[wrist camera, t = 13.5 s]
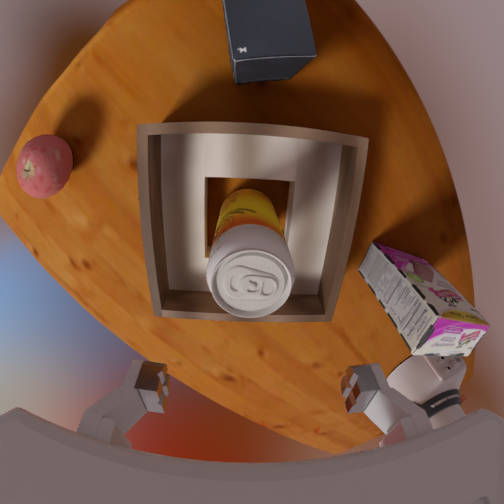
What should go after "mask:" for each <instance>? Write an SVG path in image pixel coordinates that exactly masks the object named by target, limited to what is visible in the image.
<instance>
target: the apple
mask: <svg viewBox="0 0 504 504" xmlns="http://www.w3.org/2000/svg"><path fill="white" fill-rule="evenodd" d="M72 167H73V155H72V151H71V148H70V146H69V145H68V143H67V142H66V141H64V140H63V139H62V138H60V137H57V136H55V135H41V136H37V137H35V138H33V139H31V140H30V141H28V142H27V143H26V144H25V146H24V147H23V148H22V150H21V152H20V154H19V157H18V161H17V177H18V181H19V183H20V185H21V187H22V188H23V190H24V191H25V192H26V193H27V194H29V195H31V196H33V197H36V198H46V197H50V196H52V195H54V194H56V193H57V192H58V191H60V190H61V189H62V188H63V187H64V185H65V184H66V182H67V181H68V179H69V177H70V174H71V172H72Z"/></svg>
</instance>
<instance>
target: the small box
mask: <svg viewBox="0 0 504 504" xmlns="http://www.w3.org/2000/svg"><path fill="white" fill-rule="evenodd" d="M222 1H223V10H224V18H225V25H226V32H227V39H228V46H229V54H230V62H231V65H232V71H233V77H234V83H235V84H237V85H239V84H240V85H241V84H245V83H251V82H260V81H272V80H273V81H279V80H285V79H291V78H292V77H293V76H294V75H295V74H296V73H297V72H298V71H299V70H300V69H302V68H303V67H304V66H305V65H306V64H307V63H309V62H310V61H311V60H312V59H313V58H314V57H316V56H317V53H316V48H315V43H314V38H313V33H312V28H311V24H310V19H309V15H308V10H307V6H306V2H305V0H222Z"/></svg>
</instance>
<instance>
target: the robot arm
mask: <svg viewBox="0 0 504 504" xmlns="http://www.w3.org/2000/svg"><path fill="white" fill-rule="evenodd" d="M167 369H168V368H167V365H166V364H162V363H155V362H149V361H143V360H137V359H134V360H133V361H132V363H131V365H130V368H129V371H128V373H127V376H126V379H125V381H124V384H123V386H118V387H117V388H116V389H114V390H113V391H112V392H110V393H109V394H107V395H106V396H105V397H103V398H102V399H101V400H99V401H98V402H96V403H95V404H93V405H92V406H91V407H89V408H88V409H86V410H85V412H84V414H83V417H82V419H81V422H80V425H79V427H78V430H77V432H74V431H71V430H69V429H66V428H63V427H61V426H59V425H56V424H54V423H52V422H49V421H47V420H45V419H43V418H41V417H38V416H36V415H34V414H32V413H30V412H28V411H26V410H24V409H22V408H18V407H17V408H14V409H12V410H10V411H8V412H6V413H4V414H2V415H1V416H0V504H504V419H502V418H501V417H499V416H497V415H496V414H494V413H492V412H490V411H488V410H486V409H479V410H477V411H475V412H473V413H471V414H469V415H467V416H465V414H464V413H463V411H462V409H461V407H460V405H461V403H462V402H463V401H464V400H465V399H466V398H464V399H463V397H464V395H463V396H462V397H461V398H460V395H459V387H460V385H461V382H462V380H463V377H464V375H465V372H466V364H465V362H464V360H463V358H462V356H427V355H413V356H412V357H410V358H408V359H407V360H405V361H404V362H403V363H401V364H400V365H399V366H398V367H397V368H396V369H395V370H394V371H393V372H392V373H391V374H390V375H389V377H388V378H387V380H386V377H385V375H384V373H383V371H382V369H381V367H380V364H378V363H373V364H363V365H355V366H349V367H348V368H347V370H346V373H347V375H345V376H344V377H343V379H342V381H341V392H342V395H343V396H344V397H345V398H346V401H345V406H346V409H347V413H348V414H349V413H357V412H364V413H365V414H366V415H367V416H368V417H369V418H370V419H371V420H372V421H373V422H374V423H375V424H376V425H377V426H378V427H379V428H380V429H381V430H382V431H383V432H384V433H385V434H386V436H385V437H384V438H383V439H382V440H381V441H380V443H379V445H380V447H378V448H374V449H369V450H365V451H360V452H355V453H350V454H345V455H339V456H333V457H326V458H319V459H312V460H302V461H290V462H272V463H230V462H212V461H201V460H192V459H183V458H176V457H170V456H164V455H158V454H153V453H147V452H142V451H138V450H134V449H131V443H130V442H129V441H128V439H127V438H126V437H125V435H124V434H125V433H126V432H127V431H128V430H129V429H130V428H131V427H132V426H133V425H134V424H135V423H136V422H137V421H138V420H139V419H140V418H141V417H142V416H143V415H144V414H145V413H146V412H147V411H152V412H159V413H165V408H166V404H167V400H166V396H167V395H168V394H169V390H170V376H169V374H167ZM462 399H463V400H462Z"/></svg>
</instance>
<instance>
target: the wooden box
mask: <svg viewBox="0 0 504 504" xmlns="http://www.w3.org/2000/svg"><path fill="white" fill-rule="evenodd" d="M368 143H369V138H365V137H360V136H355V135H349V134H344V133H338V132H332V131H325V130H318V129H311V128H303V127H295V126H285V125H274V124H261V123H244V122H170V123H152V124H140V125H137V166H138V189H139V204H140V217H141V227H142V237H143V246H144V254H145V262H146V269H147V276H148V282H149V289H150V294H151V300H152V306H153V311H154V316H160V317H172V318H185V319H200V320H219V321H247V322H325V321H332V317H333V314H334V310H335V307H336V303H337V300H338V296H339V293H340V289H341V285H342V281H343V277H344V273H345V269H346V265H347V261H348V257H349V252H350V248H351V244H352V239H353V234H354V229H355V225H356V220H357V214H358V209H359V204H360V198H361V192H362V186H363V180H364V173H365V166H366V159H367V151H368ZM208 177H227V178H251V179H268V180H283V181H290V184H289V194H288V203H287V213H286V222H285V231H284V237H285V240H286V243H287V246H288V249H289V251H290V254H291V257H292V260H293V263H294V267H295V280H294V284H293V287H292V289H291V292H290V295H289V297H288V299H287V300H286V302H285V303H284V304H283V305H282V306H281V307H280V308H279V309H277V310H276V311H274V312H272V313H270V314H268V315H265V316H262V317H256V318H245V317H239V316H236V315H233V314H231V313H229V312H227V311H225V310H224V309H223V308H222V307H220V306H219V305H218V303H217V302H216V301H215V299H214V297H213V295H212V293H211V291H210V289H209V287H208V284H207V279H206V270H207V265H208V261H209V256H210V252H211V248H212V246H208Z"/></svg>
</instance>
